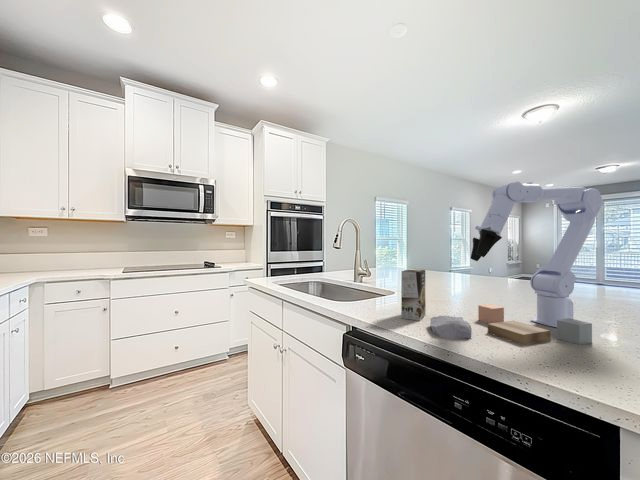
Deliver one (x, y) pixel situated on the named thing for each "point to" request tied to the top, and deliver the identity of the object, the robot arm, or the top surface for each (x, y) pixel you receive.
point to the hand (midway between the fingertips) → (476, 257)
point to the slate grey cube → (574, 331)
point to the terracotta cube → (491, 313)
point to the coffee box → (413, 295)
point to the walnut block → (519, 332)
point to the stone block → (451, 327)
